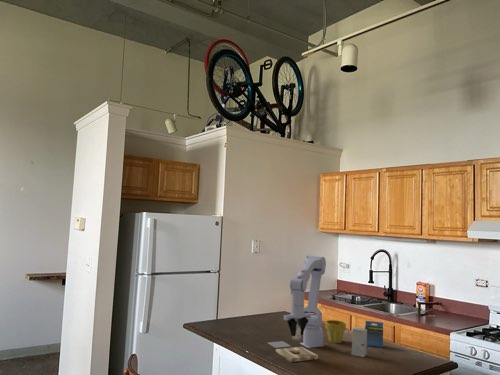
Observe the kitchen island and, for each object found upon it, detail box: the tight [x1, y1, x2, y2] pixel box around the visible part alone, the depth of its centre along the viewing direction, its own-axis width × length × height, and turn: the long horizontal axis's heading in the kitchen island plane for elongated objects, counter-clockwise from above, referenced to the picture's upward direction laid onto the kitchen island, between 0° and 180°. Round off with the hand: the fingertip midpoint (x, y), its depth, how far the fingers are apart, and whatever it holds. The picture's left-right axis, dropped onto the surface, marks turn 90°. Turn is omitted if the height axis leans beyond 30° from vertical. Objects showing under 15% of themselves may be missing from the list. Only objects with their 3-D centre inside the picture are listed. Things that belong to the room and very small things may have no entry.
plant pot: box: [325, 319, 347, 344], centre depth 217 cm, size 10×10×10 cm
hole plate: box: [275, 346, 319, 363], centre depth 190 cm, size 14×14×2 cm
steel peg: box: [291, 324, 302, 341], centre depth 191 cm, size 4×4×6 cm
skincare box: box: [351, 326, 367, 358], centre depth 195 cm, size 6×4×12 cm
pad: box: [267, 340, 291, 349], centre depth 206 cm, size 9×9×1 cm
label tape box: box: [364, 320, 384, 348], centre depth 212 cm, size 9×4×12 cm, turn 74°
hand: (297, 335), depth 191 cm, fingers closed on steel peg, 4 cm apart
